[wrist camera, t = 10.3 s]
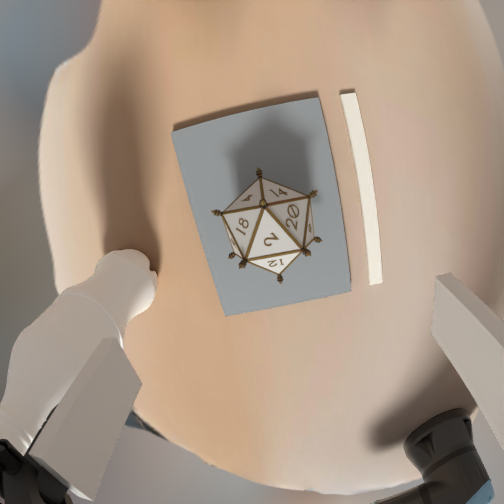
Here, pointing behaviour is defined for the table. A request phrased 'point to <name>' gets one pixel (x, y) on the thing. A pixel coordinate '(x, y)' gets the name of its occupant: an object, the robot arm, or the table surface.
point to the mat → (277, 170)
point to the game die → (269, 225)
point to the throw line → (364, 185)
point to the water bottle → (71, 340)
